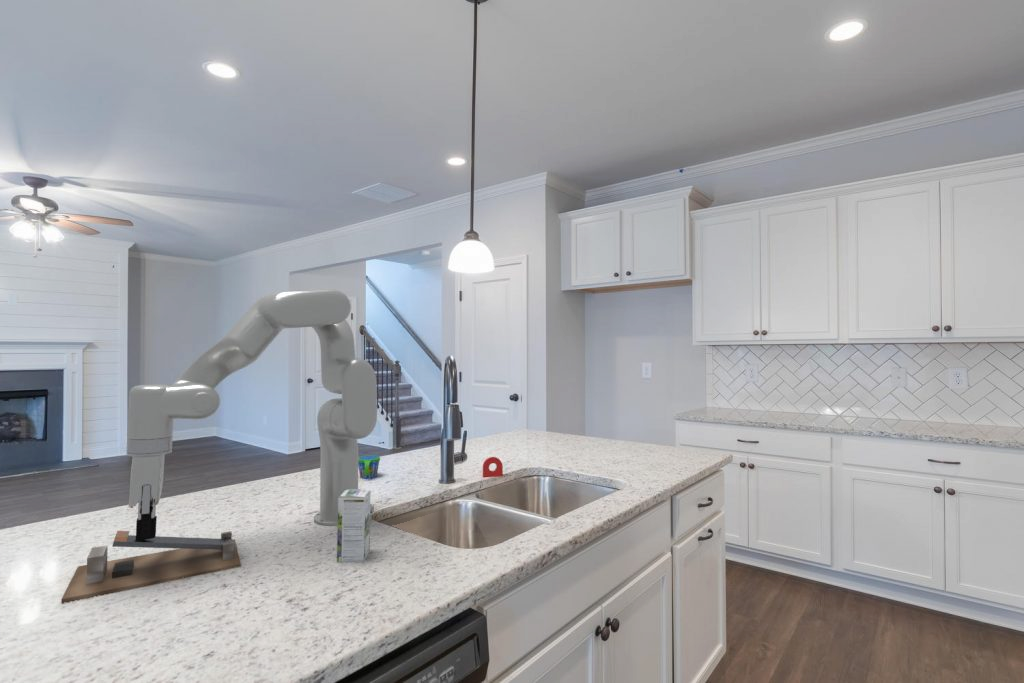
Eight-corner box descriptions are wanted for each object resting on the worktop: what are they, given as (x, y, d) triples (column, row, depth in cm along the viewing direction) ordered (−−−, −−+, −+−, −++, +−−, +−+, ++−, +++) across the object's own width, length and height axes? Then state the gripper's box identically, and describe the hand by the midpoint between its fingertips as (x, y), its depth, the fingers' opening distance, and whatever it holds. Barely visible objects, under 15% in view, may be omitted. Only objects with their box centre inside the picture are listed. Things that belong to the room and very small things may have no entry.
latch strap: (230, 544, 114) (233, 534, 114) (232, 552, 109) (235, 542, 110) (114, 540, 103) (117, 529, 103) (111, 549, 99) (114, 537, 99)
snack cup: (361, 474, 184) (361, 454, 184) (382, 474, 184) (382, 453, 184) (353, 483, 173) (353, 461, 173) (376, 483, 173) (376, 460, 173)
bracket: (485, 483, 173) (485, 460, 173) (482, 480, 177) (482, 457, 177) (519, 481, 176) (519, 458, 176) (516, 478, 180) (516, 455, 180)
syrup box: (343, 555, 113) (343, 489, 113) (370, 554, 113) (370, 488, 113) (336, 566, 107) (336, 496, 107) (365, 565, 108) (365, 495, 108)
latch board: (234, 544, 119) (235, 518, 119) (240, 569, 105) (241, 540, 105) (78, 572, 104) (78, 542, 104) (61, 606, 90) (61, 571, 91)
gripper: (130, 442, 108) (126, 530, 108) (122, 453, 96) (118, 554, 95) (173, 439, 112) (169, 524, 112) (171, 450, 100) (166, 546, 99)
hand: (145, 537), depth 103 cm, fingers closed
